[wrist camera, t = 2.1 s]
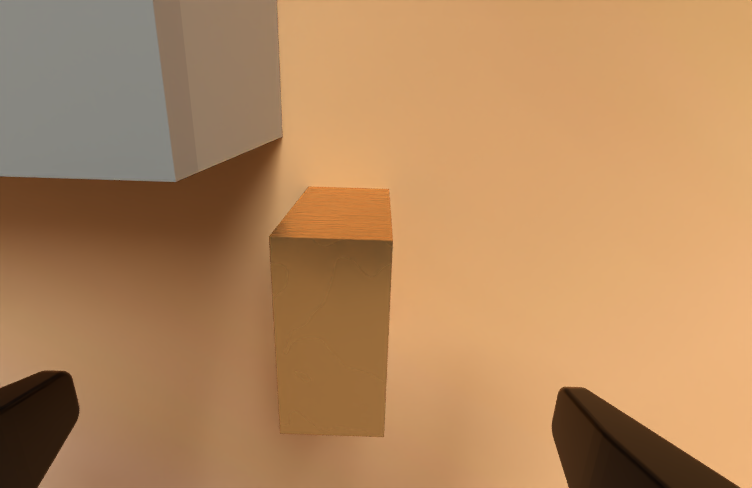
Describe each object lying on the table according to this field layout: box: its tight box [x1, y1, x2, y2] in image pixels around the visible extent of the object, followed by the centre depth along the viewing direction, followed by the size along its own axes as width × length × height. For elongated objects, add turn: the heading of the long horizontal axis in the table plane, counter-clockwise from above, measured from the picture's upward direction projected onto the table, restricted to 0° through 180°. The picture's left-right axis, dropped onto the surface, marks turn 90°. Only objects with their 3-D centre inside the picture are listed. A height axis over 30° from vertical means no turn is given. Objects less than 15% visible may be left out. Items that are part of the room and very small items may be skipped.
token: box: [269, 187, 393, 437], centre depth 12 cm, size 5×2×5 cm, turn 178°
